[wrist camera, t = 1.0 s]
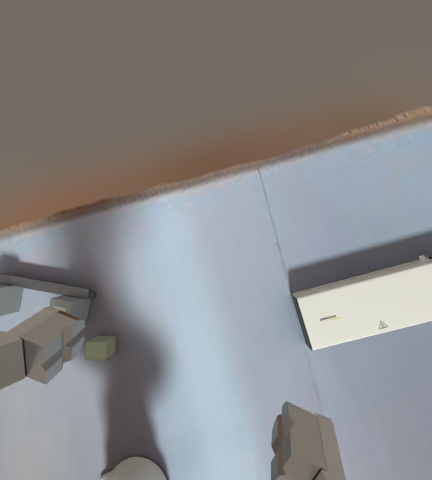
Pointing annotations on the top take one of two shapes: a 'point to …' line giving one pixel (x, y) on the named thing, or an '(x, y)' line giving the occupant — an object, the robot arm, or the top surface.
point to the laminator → (366, 304)
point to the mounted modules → (9, 298)
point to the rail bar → (46, 286)
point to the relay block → (100, 347)
